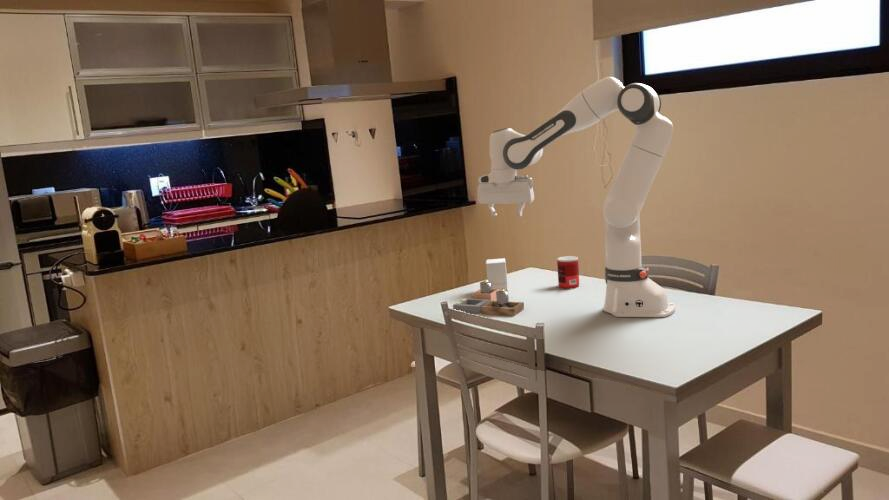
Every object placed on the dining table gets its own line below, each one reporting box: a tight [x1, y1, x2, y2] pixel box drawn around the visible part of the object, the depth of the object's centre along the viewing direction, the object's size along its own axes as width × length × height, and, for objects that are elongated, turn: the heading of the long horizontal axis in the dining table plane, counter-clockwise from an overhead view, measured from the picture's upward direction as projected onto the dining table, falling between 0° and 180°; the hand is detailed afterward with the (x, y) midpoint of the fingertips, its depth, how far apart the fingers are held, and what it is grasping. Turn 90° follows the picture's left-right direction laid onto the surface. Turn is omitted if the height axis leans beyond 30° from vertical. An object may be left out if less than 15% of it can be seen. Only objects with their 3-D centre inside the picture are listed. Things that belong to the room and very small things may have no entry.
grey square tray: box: [452, 297, 490, 315], centre depth 238 cm, size 10×9×3 cm
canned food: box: [556, 255, 580, 290], centre depth 258 cm, size 8×8×11 cm
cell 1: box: [479, 279, 492, 294], centre depth 244 cm, size 4×4×8 cm
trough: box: [481, 300, 525, 317], centre depth 231 cm, size 12×8×3 cm, turn 60°
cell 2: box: [496, 289, 510, 308], centre depth 231 cm, size 4×4×8 cm
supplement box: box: [485, 257, 509, 292], centre depth 257 cm, size 7×7×13 cm
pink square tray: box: [472, 288, 499, 301], centre depth 245 cm, size 7×7×4 cm
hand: (507, 216), depth 238 cm, fingers open, 8 cm apart
